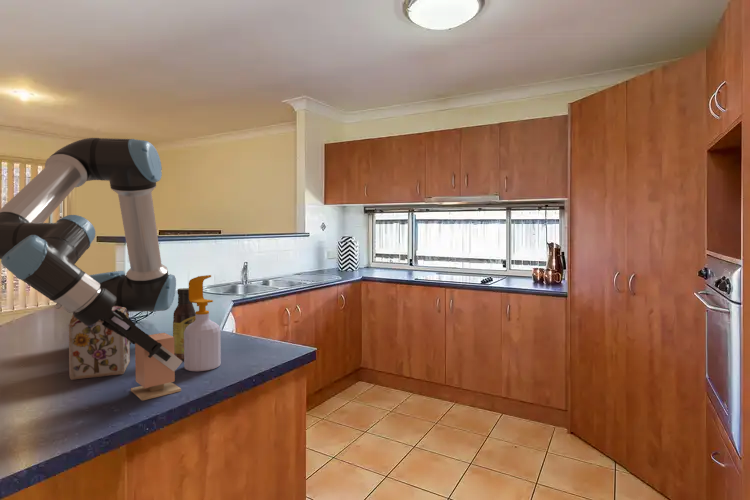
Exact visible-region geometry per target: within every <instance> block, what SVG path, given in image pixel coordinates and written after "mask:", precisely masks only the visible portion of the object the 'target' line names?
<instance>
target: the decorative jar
mask: <svg viewBox="0 0 750 500" xmlns="http://www.w3.org/2000/svg"><path fill="white" fill-rule="evenodd" d="M115 310H118V311H121V312H122V313H124V314H125V315H126V317H127V318H128V319H130V318H129V315H130V314H129V312H128V311H127V309H126V308H125V307H120V306H113V307H112V311H115ZM102 323H103V321H100V320H99V321H98V322H96V323H95V324H93V325H85V324H84V323H82V322H81V321H80V320H78V319H77V318H75V317H74V316H73V314H72V316H71V319H70V321H69V324H68V368H69V369H68V370H69V371H68V372H69V373H68V374H69V378H70V380H72V381H74V380H83V379H89V378H90V379H91V378H101V377H102V378H103V377H109V376H117V375H119V376H120V375H124V374H125V372H126V370H127V368H128V366H129V364H130V362H131V359H130V358H131V355H130V353H131V352H130V351H131V350H130V349H131V348H130V346H131V344H130V341H129V340H128V339H127V338H125V337H122V336H120V335H119V334H117V333H115V332H114V331H112V330H110V329H108V328H106V327H105V326H103V325H102Z"/></svg>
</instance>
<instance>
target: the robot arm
mask: <svg viewBox="0 0 750 500" xmlns="http://www.w3.org/2000/svg"><path fill="white" fill-rule="evenodd" d="M157 150H158V149H156V147H155V146H154V145H153V144H152V143H151V142H149V140H143V139H142V140H141V139H135V138H109V137H107V138H106V137H105V138H101V137H100V138H99V137H89V138H88V137H87V138H83V139H79V140H76V141H74V142H71V143H68V144H66V145H65V146H62V148H60V149H57V150H56V151H55V152H54V153H53V154H51V155H50V156H49V157H48V158H47V159H46V160H45V163H44V168H42V170H41V171H40V172H39V173H38V174H37V175H35V177H34V178H32V179H31V180H30V181H29V182H28V183H26V185H25V186H24V187H23V188H22V189H21V190H19V192H17V193H16V194H15V195H14V196H13V197H12V198H11V199H10V200H9V201H8V202H6V204H4V205H3V207H1V209H0V263H1V265H2V266H3V267H4V268H5V269H7V271H9V272H11V274H13V275H14V276H15V278H16V279H19V280H20V281H23V282H24V283H25V284H27V285H28V286H29V287H31V288H32V289H34V290H35V291H37V292H38V293H40V294H41V295H42V296H45V297H46V298H48V299H49V300H50V301H52V302H53V303H54V304H55V303H56V304H55V305H54V308H55V309H57V310H59V309H61V308H62V309H63V310H65V311H66V312H68V313H70V314H71V313H72V315H73V316H74V317H75V318H77V319H78V320H80V321H81V322H82V323H84V324H85V325H93V324H95V323H96V322H98V321H99V320H100V321H103V323H102V325H103V326H105V327H106V328H108V329H110V330H112V331H114V332H115V333H117V334H119V335H120V336H122V337H125V338H127V339H128V340H129V341H130V345H131V344H132V345H135V343H136V344H138V345H139V346H141V347H142V348H143V349H145V350H146V351H148V352H149V356H148V357H149V358H151V357H152V356H153V357H154V358H156V359H157V360H158V361H160V362H161V363H163V364H164V365H165V366H167V367H168V368H169V369H171V370H172V371H175V372H176V370H177V369H178V368H179V367H180V365H181V364H182V363H184V362H183V361H184V360H180V359H179V358H178V357H176V356H175V355H174V354H172V353H171V352H170V351H168V350H167V349H166V348H164V347H163V346H162V345H161V343H158V342H157V341H155V340H154V339H153V338H151V337H150V336H149V335H150V334H148V333H146V332H145V331H143V330H142V329H140V327H138V326H137V325H136V323H135V322H134V321H132V319H130V318H129V319H128V318H127V317H126V315H125V314H124V313H122V312H121V311H118V310H115V311H112V307H113V306H120V307H125V308H126V309H127V311H128V313H130V312H132V313H134V312H136V313H137V312H153V313H155V312H163V311H168V310H169V309H170V308H171V306H172V305H173V303H174V299H175V295H176V289H177V279H176V276H175V275H174V274H171V273H170V274H169V270H168V267H167V266H166V265H164V264H162V259H161V250H160V245H159V243H160V242H159V238H158V237H159V236H158V230H157V222H156V221H157V220H156V214H155V209H154V201H153V200H154V199H153V194H152V193H153V191H154V190H155V188H156V187H157V182H160V181H161V179H162V174H163V173H162V170H163V169H162V168H163V167H162V162H161V157H160V155H159V152H158V151H157ZM90 181H106V182H107V181H108V182H109V186H110V189H111V191H113V192H114V193H116V194H117V196H118V202H119V209H120V212H121V213H120V214H121V219H122V226H123V231H124V237H125V243H126V248H127V254H128V261H129V267H130V268H129V269H128V270H127V271H126V272H125V271H124V270H117V271H116V270H115V271H108V272H100V273H95V274H88V273H87V272H86V271H83V270H82V269H81V267H79V266H77V265H76V263H77V262H78V261H79V260H80V258H81V257H83V255H84V254H85V252H86V251H87V250H88V249H89V248H90V247H91V244H92V242H93V241H94V240H95V238H96V229H95V226H94V225H93V224H92V222H90V221H89V219H86V218H85V217H83V216H81V215H79V214H68V215H65V216H63V217H61V218H60V219H57V220H56V222H46V221H47V220H48V218H49V217H50V216H51V215H52V214H53V213H54V211H56V209H57V208H58V207H59V206H60V205H61V204H62V203H63V201H65V199H66V198H67V197H68V196H69V195H70V194H71V192H72V191H73V190H74V189H75V188H79V187H82V186H83V185H84V184H85V183H86V182H90Z"/></svg>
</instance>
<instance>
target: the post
mask: <svg viewBox="0 0 750 500" xmlns="http://www.w3.org/2000/svg"><path fill="white" fill-rule="evenodd" d="M130 392H131V393H133V394H134V395H135V396H136V397H137V398H139V400H140V401H147V400H151V399H156V398H159V397H163V396H166V395H170V394H175V393H178V392H182V388H181V387H179V386H178V385H177V384H176V383H174V382H169V383H165V384H161V385H157V386H152V387H148V388H144V387H143V386H141V385H139V386H134V387H130Z"/></svg>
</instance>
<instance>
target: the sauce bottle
mask: <svg viewBox="0 0 750 500" xmlns="http://www.w3.org/2000/svg"><path fill="white" fill-rule="evenodd" d="M193 304H194V303H192V302H190V301H189V287H183V288H182V287H180V288H177V306H176V308H175V309H174V310H173V311H174V312H173V321H172V336H173V337H174V355H175V356H176V357H178V358H179V359H180V360H182V361H184V331H185V329H186V327H187V326H188V325H189V324H191V323H193V322H194V321H195V320H196V310H195V307H194V305H193Z"/></svg>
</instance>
